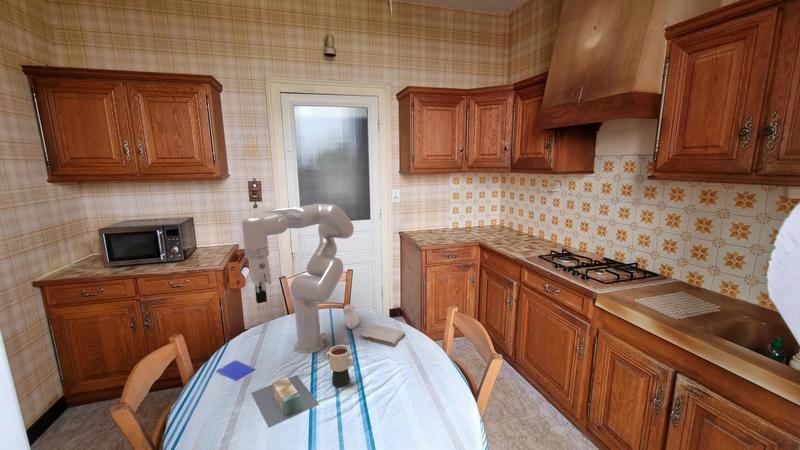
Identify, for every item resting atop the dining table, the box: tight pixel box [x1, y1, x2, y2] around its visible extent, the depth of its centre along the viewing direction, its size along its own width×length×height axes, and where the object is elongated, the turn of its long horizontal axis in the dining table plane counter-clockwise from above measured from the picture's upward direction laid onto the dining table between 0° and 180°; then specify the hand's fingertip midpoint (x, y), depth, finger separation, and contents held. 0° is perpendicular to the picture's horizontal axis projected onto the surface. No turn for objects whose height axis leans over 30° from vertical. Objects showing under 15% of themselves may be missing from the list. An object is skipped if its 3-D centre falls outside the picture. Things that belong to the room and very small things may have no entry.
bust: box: [343, 303, 362, 330], centre depth 165 cm, size 12×8×11 cm
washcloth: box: [359, 324, 406, 348], centre depth 154 cm, size 12×18×3 cm, turn 64°
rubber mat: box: [250, 374, 320, 429], centre depth 114 cm, size 16×20×1 cm
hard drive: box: [215, 359, 257, 382], centre depth 130 cm, size 2×8×12 cm
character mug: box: [326, 344, 355, 388], centre depth 121 cm, size 11×7×13 cm, turn 67°
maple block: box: [271, 376, 301, 417], centre depth 111 cm, size 5×5×12 cm
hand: (261, 301), depth 122 cm, fingers closed
